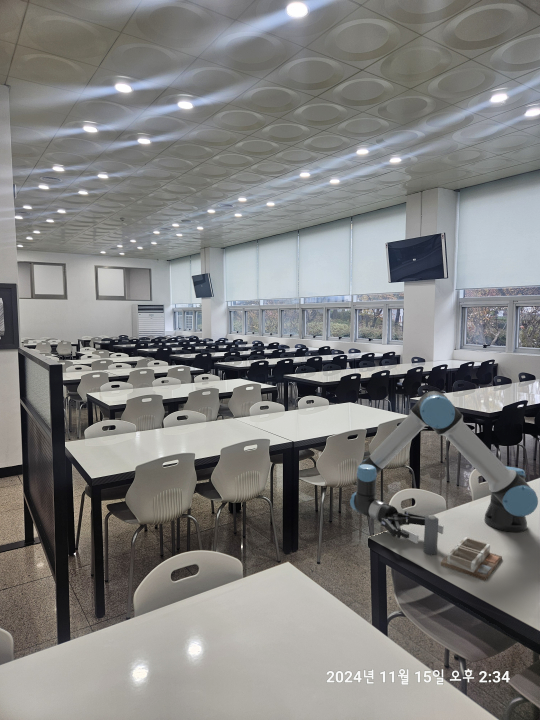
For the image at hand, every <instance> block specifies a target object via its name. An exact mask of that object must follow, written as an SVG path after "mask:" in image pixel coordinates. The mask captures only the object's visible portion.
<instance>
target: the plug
mask: <svg viewBox="0 0 540 720" xmlns="http://www.w3.org/2000/svg"><path fill="white" fill-rule="evenodd" d="M425 516H426V517H425V526H424V534H423V553H424V554H426V555H428V556H437V555H438V537H439V533H438V524H439V518H438V517H436V516H435V515H433V514H429V515H425Z"/></svg>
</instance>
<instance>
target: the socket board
mask: <svg viewBox="0 0 540 720" xmlns="http://www.w3.org/2000/svg"><path fill="white" fill-rule="evenodd" d="M490 549H491V544H490V543H487V542H484V541H480V540H477V539H473V538H470V537H467V536H465V537H463V539H462V540H461V541H460V542H459V543H457V545H456V546H454V548H453V549H452V550H450V552H449V553H447V555H446V557H443V559H442V560H441V561H440V565H441V566H443V567H446V568H450V569H452V570H455V571H458V572H460V573H463V574H465V575H469V576H472V577H475V578H477V579H479V580H483V581H487V580H488V578H489V577H490V576H491V574H492V573H493V572H494V571H495V570H496V568H497V566H498V565H499V564H500V563H501V561H502V560H503V556H502V555H500V554H496V553H493V552H491V551H490Z"/></svg>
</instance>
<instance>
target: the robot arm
mask: <svg viewBox="0 0 540 720" xmlns="http://www.w3.org/2000/svg"><path fill="white" fill-rule="evenodd" d="M409 411H410V413H409V414H408V415H407V416H406V417H405V418H404V420H402V422H401V423H399V425H398V426H397V427H396V428H395V429H394V430H393V431H392V432H391V433H390V434H389V435H388V436H387V437H386V438H385V439H383V441H382V442H381V443H380V444H379V445H378V447H377V448H375V450H373V451H372V453H371V454H370V455H369V456H368V457H367V458H366V459H364V460H363V459H362V461H361V462H360V464H359V465H358V466H357V470H356V491H355V492H354V493H352V494H351V498H350V500H349V504H350V507H351V508H352V510H354V511H356V512H358V513H359V514H360V515H364V516H366V517H368V518H370V519H373V520H374V521H376V522H379V523H380V524H381V527H384V528H385V529H386V530H387V531H388V533H389V534H390V535H391V536H392V537H396V538H398V539H401V538H402V537H403V538H405V539H407V540H408V541H411V542H412V543H415V544H419V536H420V535H419V534H417V533H414V532H412V531H410V530H408V529H407V528H403V527H402V528H401V526H403V525H406V526H409V525H418V526H424V527H425V517H426V516H427V515H422V514H418V513H413V512H410V511H408V510H407V511H406V510H404V513H402V512H399V511H398V509H397V508H396V507H395V506H393V505H391V504H389V503H387V502H384V501H381V500H379V499H377V498H376V494H377V493H376V490H377V489H376V486H377V475H379V473H381V471H383V469H384V468H385V467H386V466H387V465H388V464H389V463H390V462H391V461H392V460H393V459H394V458H395V457H396V456H397V455H398V454H399V453H400V452H401V451H402V450H403V449H404V448H405V447H406V446H407V445H408V444H409V443H410V442H411V441H412V440H413V439H414V438H415V437H416V436H417V435H418V434H419V432H421V431H422V430H423V429H424V427H430V428H432V430H434V432H435V433H436V434H437V435H438V436H444V437H445V438H446V439H447V440H448V441H449V442H450V443H451V444H452V445H453V446H454V447H455V448H456V450H457V451H458V452H459V453H460V454H461V455H462V456H463V457H464V458H465V460H467V461H468V462H469V464H471V466H472V467H473V468H474V469H475V470H476V471H477V472H478V473H479V475H481V477H483V479H484V480H485V481H486V482H487V483H488V489H489V491H490V502H489V504H488V507H487V509H486V512H485V513H484V523H485V524H486V525H488V526H489V527H491V528H494V529H496V530H499V531H505V532H509V533H520V532H524V531H527V528H528V527H527V526H528V521H527V517H526V516H530V515H531V514H533V512H535V511H536V509H537V508H538V504H539V500H538V498H539V497H538V495H537V493H536V490H534V489H533V488H532V487H531V486H530V485H529V484H528V483H527V482H526V472H525V470H524V469H522V468H518V467H514V466H513V467H512V466H506V465H505V464H503V462H502V461H501V460H500V459H499V458H498V457H497V456H496V455H495V454H494V453H493V452H492V451H491V449H489V447H488V446H487V445H486V444H485V443H484V442H483V441H482V440H481V439H480V438H479V437H478V436H477V435H476V433H475V432H474V431H473V430H472V429H471V428H470V427H469V426H468V425H467V424H466V423H465V422H464V415H463V413H461V412H460V410H459V409H458V408H457V407H456V406H455V405H454V404H453V402H452V401H451V400H450V399H448V397H447V396H446V395H445V394H444V393H442V392H440V391H436V390H433V391H427V392H426V393H423V395H422V396H421V397H420V398H419V399H418V401H417V402H416V403H415V404H414V405H413V406H412V407H411V408H410V410H409ZM438 534H441V535H444V525H442V524H439V523H438Z"/></svg>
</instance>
